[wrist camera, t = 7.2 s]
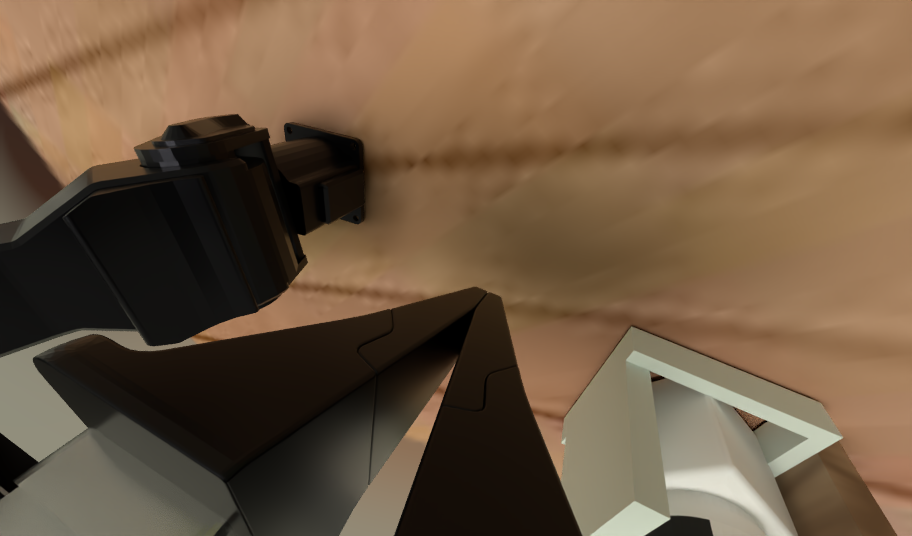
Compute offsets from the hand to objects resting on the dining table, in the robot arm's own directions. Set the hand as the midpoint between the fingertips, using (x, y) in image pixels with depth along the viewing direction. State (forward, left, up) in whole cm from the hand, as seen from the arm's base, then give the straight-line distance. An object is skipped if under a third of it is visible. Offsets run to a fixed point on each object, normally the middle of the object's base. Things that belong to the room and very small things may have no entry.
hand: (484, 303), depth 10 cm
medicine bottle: (+14, -14, -13) cm, 24 cm away
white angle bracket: (+13, -14, -13) cm, 24 cm away
